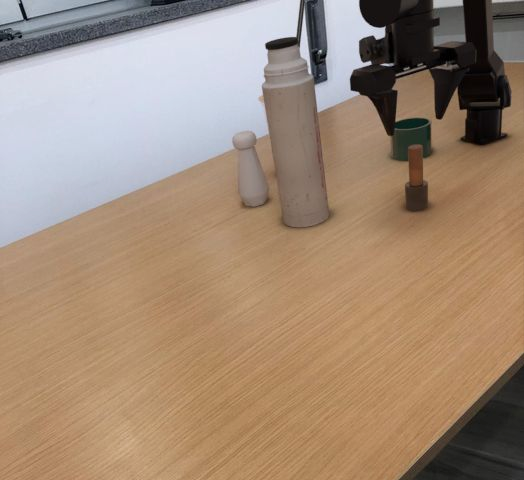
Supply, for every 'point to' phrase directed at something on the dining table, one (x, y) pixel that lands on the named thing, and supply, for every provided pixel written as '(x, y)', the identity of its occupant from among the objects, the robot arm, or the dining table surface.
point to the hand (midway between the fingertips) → (415, 127)
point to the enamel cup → (411, 137)
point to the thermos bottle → (294, 134)
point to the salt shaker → (250, 170)
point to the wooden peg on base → (416, 181)
